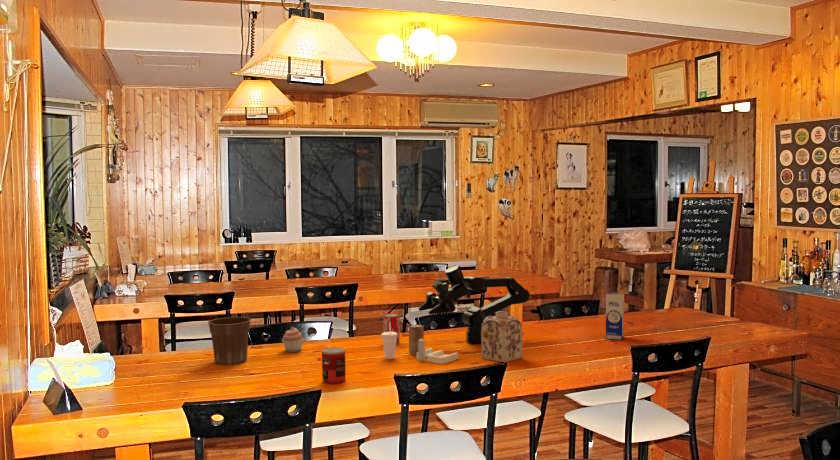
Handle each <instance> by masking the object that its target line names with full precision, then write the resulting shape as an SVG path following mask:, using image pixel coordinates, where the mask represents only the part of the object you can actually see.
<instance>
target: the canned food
mask: <svg viewBox="0 0 840 460" xmlns="http://www.w3.org/2000/svg"><path fill="white" fill-rule="evenodd" d="M321 370H322V371H321V373H322V377H321V378H322V379H321V380H322V382H323V383H325V384H328V385H337V384H342V383H344V382H345V381H346V378H347V377H346V349H345V348H343V347H336V346H335V347H326V348H323V349H321Z"/></svg>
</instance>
